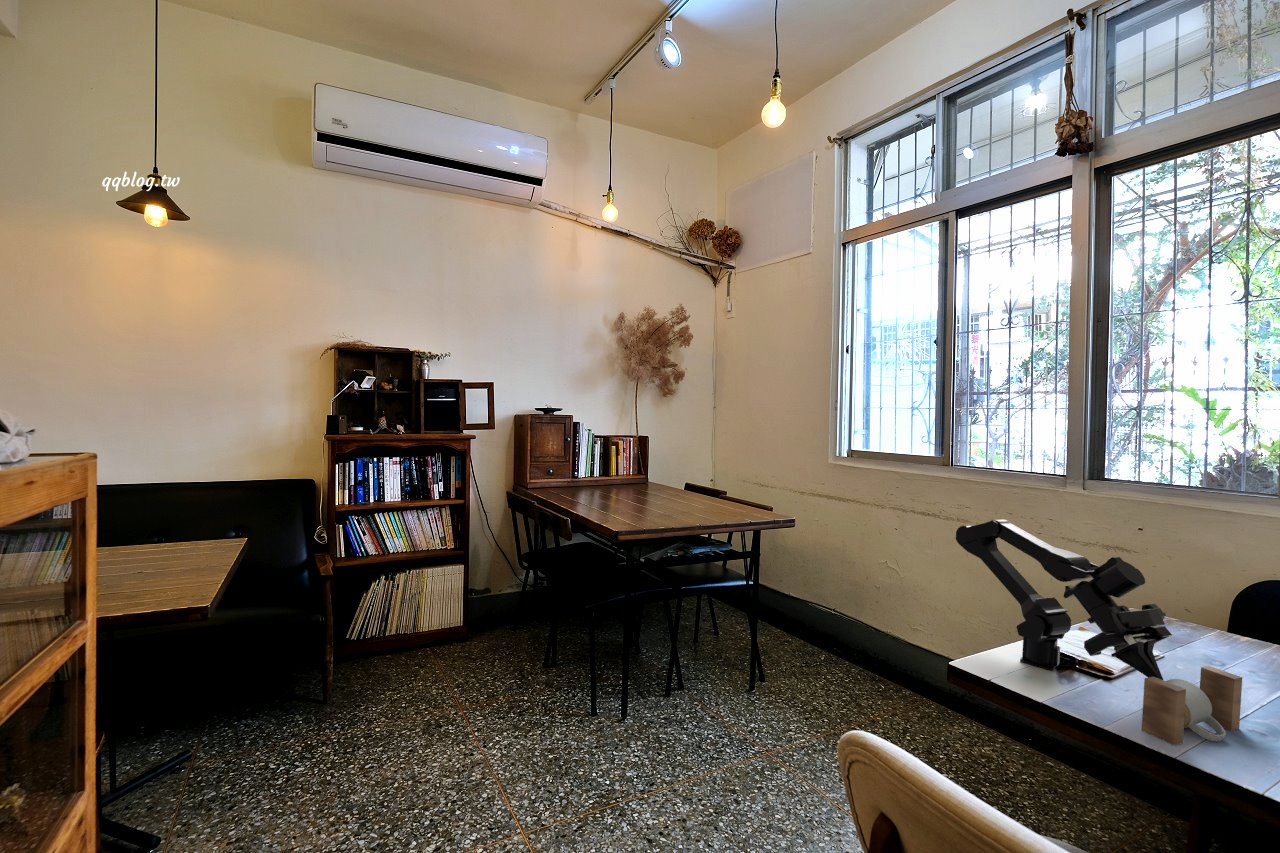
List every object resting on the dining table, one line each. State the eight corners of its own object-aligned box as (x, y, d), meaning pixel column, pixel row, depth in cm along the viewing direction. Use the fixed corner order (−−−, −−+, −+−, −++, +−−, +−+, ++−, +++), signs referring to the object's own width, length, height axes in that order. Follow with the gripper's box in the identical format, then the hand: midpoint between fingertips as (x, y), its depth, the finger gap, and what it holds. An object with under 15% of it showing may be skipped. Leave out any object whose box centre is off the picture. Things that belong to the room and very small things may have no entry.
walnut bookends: (1141, 730, 106) (1144, 678, 105) (1205, 715, 112) (1208, 665, 112) (1173, 745, 101) (1177, 691, 101) (1239, 728, 107) (1242, 677, 107)
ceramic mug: (1140, 717, 110) (1143, 679, 110) (1160, 708, 114) (1163, 672, 113) (1213, 748, 101) (1217, 707, 100) (1233, 738, 104) (1236, 697, 104)
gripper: (1102, 593, 113) (1166, 672, 103) (1162, 586, 119) (1228, 660, 109) (1060, 618, 120) (1115, 693, 110) (1118, 610, 126) (1176, 681, 116)
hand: (1160, 681), depth 111 cm, fingers closed
